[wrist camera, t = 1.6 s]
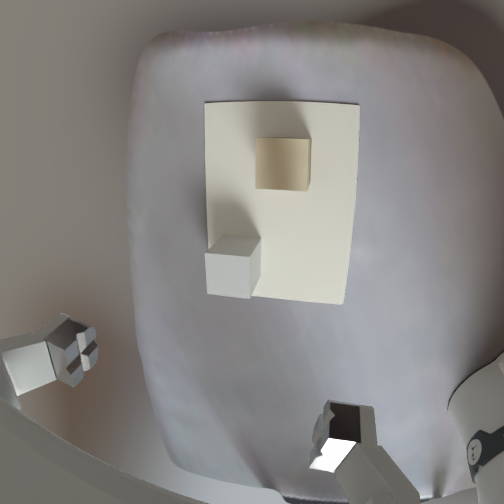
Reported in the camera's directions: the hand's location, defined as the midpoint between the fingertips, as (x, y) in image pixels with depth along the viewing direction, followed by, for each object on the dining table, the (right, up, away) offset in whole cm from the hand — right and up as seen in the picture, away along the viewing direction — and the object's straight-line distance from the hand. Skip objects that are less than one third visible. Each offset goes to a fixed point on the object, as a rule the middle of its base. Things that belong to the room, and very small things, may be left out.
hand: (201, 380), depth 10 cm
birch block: (+5, +13, +22) cm, 26 cm away
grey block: (+1, +4, +27) cm, 27 cm away
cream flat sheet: (+4, +9, +24) cm, 26 cm away
